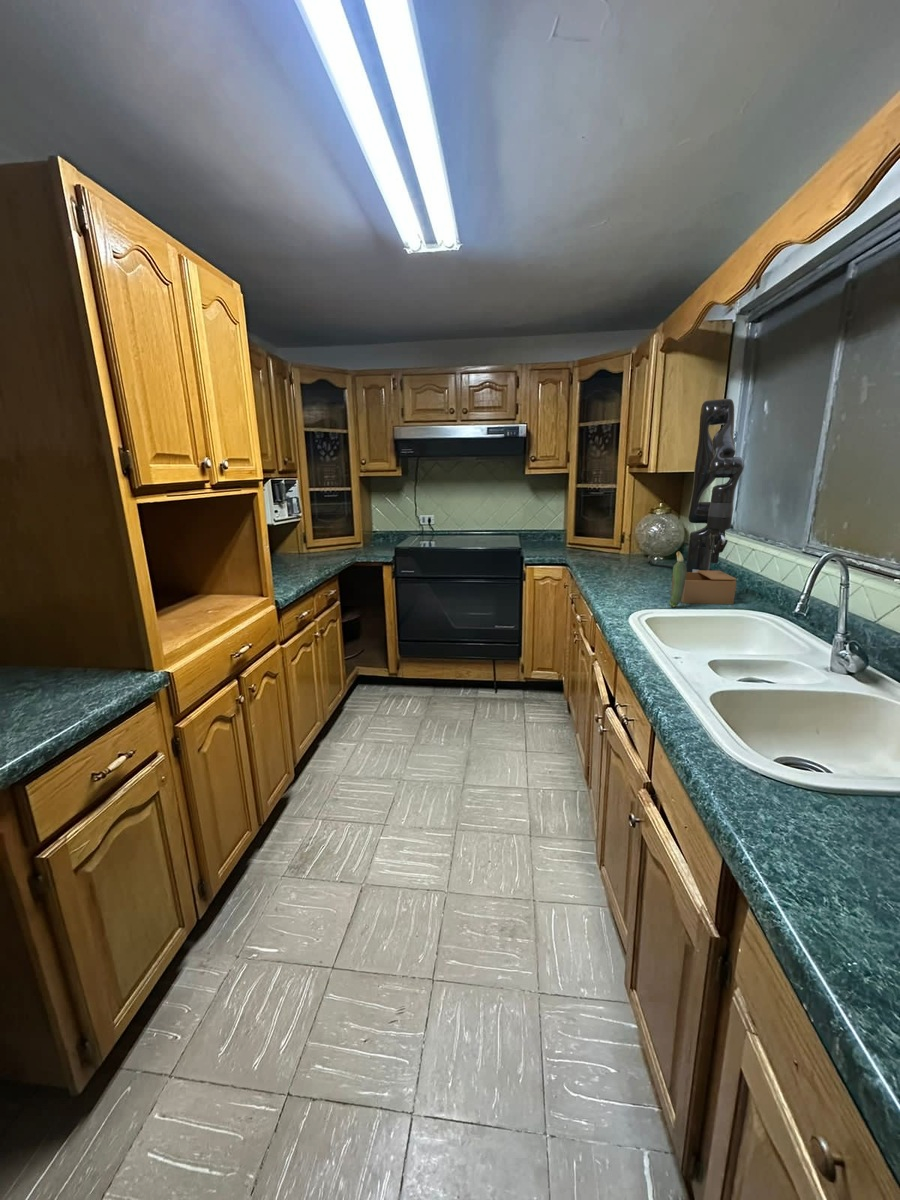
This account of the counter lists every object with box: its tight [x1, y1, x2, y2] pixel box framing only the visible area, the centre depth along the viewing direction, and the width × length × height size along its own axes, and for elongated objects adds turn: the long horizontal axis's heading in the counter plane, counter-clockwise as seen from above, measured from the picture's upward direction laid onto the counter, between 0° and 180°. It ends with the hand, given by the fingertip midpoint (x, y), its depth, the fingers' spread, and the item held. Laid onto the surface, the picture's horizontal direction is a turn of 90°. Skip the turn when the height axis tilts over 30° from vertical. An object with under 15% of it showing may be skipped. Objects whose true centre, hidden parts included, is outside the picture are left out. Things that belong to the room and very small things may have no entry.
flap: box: [697, 569, 738, 581], centre depth 178 cm, size 15×8×1 cm, turn 172°
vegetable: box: [669, 550, 687, 608], centre depth 166 cm, size 4×4×20 cm
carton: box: [670, 572, 738, 605], centre depth 179 cm, size 15×17×8 cm
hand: (713, 562), depth 177 cm, fingers closed
